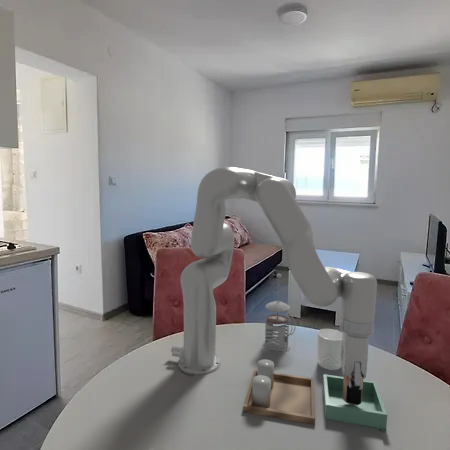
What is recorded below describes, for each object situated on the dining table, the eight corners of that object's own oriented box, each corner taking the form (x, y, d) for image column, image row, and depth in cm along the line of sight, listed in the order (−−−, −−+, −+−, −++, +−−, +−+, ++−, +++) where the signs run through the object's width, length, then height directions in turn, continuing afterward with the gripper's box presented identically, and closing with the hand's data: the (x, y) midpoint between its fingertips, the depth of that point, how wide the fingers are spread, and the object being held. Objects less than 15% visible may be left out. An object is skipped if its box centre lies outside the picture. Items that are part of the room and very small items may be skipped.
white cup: (345, 374, 97) (347, 341, 95) (316, 371, 98) (318, 338, 97) (341, 360, 104) (343, 330, 103) (315, 357, 106) (316, 327, 105)
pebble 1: (255, 388, 88) (256, 366, 88) (258, 378, 92) (258, 358, 92) (272, 390, 87) (273, 369, 86) (274, 381, 91) (275, 360, 91)
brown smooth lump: (343, 403, 80) (344, 379, 79) (341, 392, 84) (343, 370, 84) (362, 406, 79) (364, 382, 78) (360, 395, 83) (361, 372, 83)
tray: (242, 413, 79) (243, 406, 79) (253, 376, 95) (254, 369, 95) (314, 427, 75) (315, 418, 75) (313, 385, 91) (314, 378, 91)
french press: (274, 336, 120) (276, 268, 117) (301, 348, 112) (304, 275, 109) (255, 344, 114) (258, 273, 111) (283, 358, 105) (286, 280, 102)
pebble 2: (250, 407, 80) (251, 383, 80) (253, 396, 85) (254, 374, 84) (269, 410, 79) (269, 386, 79) (271, 399, 84) (271, 376, 83)
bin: (324, 420, 77) (325, 404, 77) (322, 388, 90) (323, 374, 89) (386, 431, 74) (387, 414, 74) (374, 396, 87) (375, 381, 86)
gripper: (337, 310, 88) (333, 375, 91) (343, 338, 72) (338, 416, 74) (367, 313, 87) (363, 380, 89) (381, 342, 70) (375, 422, 73)
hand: (352, 395), depth 82 cm, fingers closed on brown smooth lump, 4 cm apart
